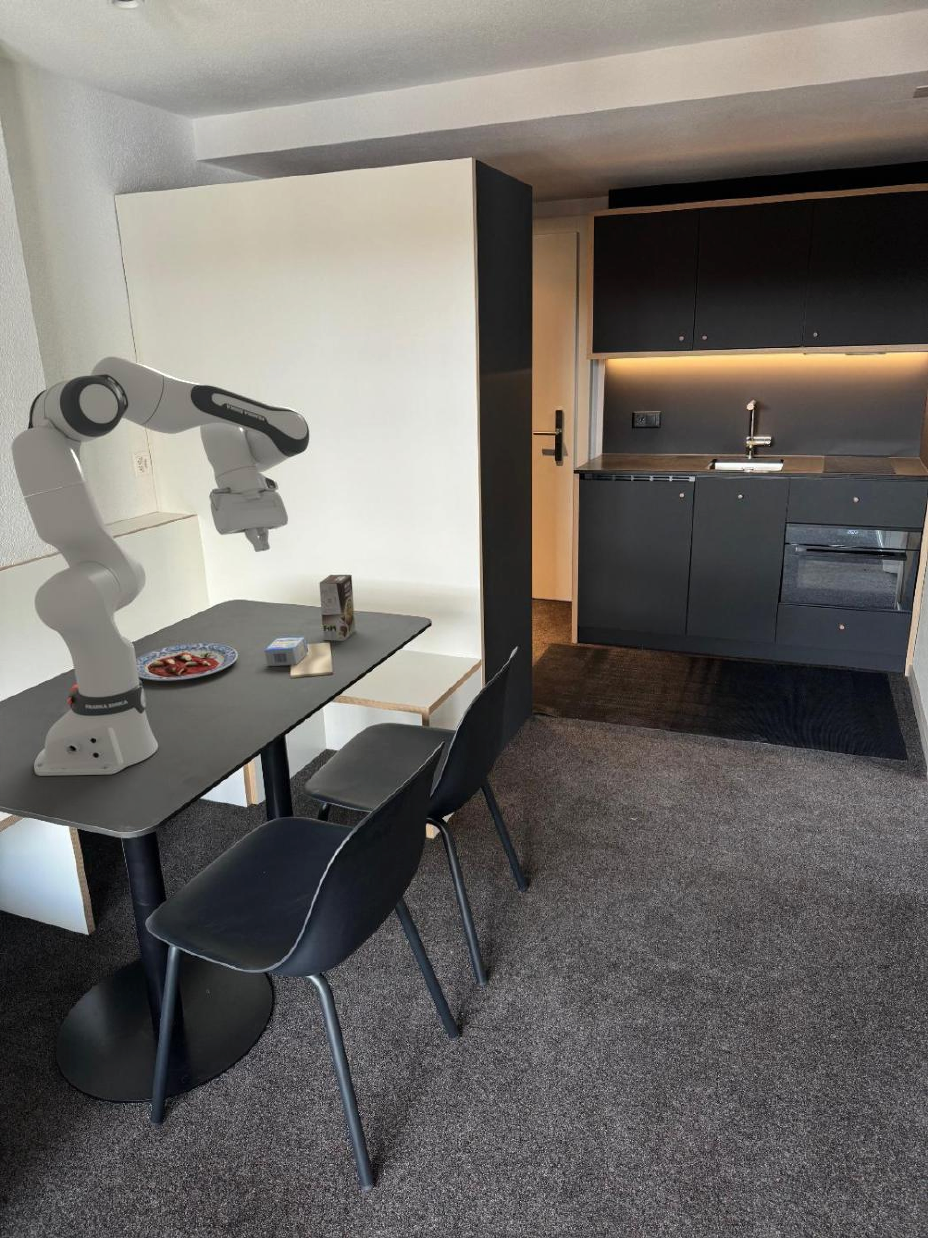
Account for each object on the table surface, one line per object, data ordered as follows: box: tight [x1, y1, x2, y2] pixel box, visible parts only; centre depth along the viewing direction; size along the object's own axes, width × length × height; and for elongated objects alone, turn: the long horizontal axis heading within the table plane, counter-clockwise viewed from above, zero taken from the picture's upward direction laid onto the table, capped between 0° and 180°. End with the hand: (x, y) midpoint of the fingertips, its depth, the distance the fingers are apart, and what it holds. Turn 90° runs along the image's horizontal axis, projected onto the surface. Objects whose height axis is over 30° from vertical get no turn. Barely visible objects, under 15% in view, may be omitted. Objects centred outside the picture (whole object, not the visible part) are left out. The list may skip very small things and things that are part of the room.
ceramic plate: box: [136, 642, 239, 682], centre depth 218 cm, size 26×26×3 cm
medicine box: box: [263, 636, 308, 667], centre depth 220 cm, size 8×4×9 cm
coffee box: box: [319, 574, 356, 642], centre depth 236 cm, size 9×6×16 cm
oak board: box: [290, 642, 334, 679], centre depth 221 cm, size 10×22×1 cm, turn 10°
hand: (263, 550), depth 182 cm, fingers closed
